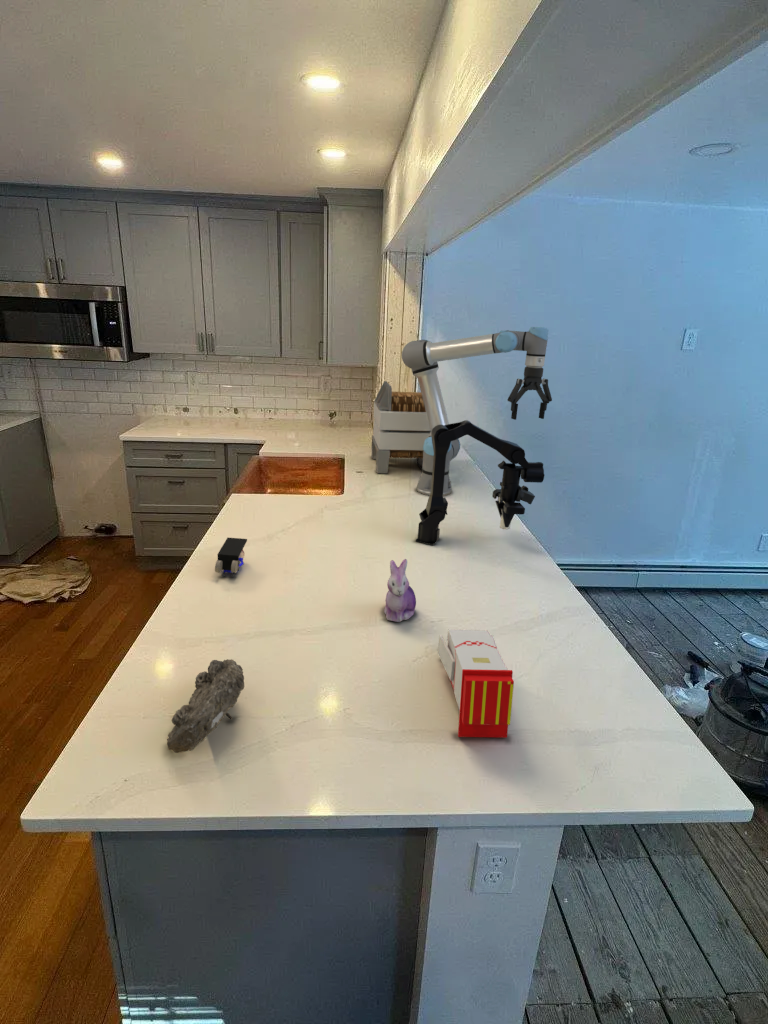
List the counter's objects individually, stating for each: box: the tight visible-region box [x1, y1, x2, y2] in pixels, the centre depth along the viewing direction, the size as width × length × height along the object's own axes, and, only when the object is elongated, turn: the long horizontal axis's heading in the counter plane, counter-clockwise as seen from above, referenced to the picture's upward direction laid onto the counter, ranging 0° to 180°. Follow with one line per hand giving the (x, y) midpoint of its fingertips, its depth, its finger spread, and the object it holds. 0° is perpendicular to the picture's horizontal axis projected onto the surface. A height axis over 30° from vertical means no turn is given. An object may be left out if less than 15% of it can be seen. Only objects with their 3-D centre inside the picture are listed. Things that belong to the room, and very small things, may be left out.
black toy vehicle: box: [214, 537, 248, 578], centre depth 166 cm, size 7×8×15 cm
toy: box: [437, 628, 515, 738], centre depth 117 cm, size 12×13×30 cm
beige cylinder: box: [499, 515, 512, 530], centre depth 195 cm, size 4×4×4 cm
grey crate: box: [370, 380, 431, 474], centre depth 281 cm, size 34×33×41 cm
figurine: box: [384, 558, 417, 623], centre depth 145 cm, size 9×10×15 cm
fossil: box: [166, 658, 245, 754], centre depth 106 cm, size 22×10×15 cm
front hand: (505, 524), depth 195 cm, fingers closed on beige cylinder, 3 cm apart
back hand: (527, 418), depth 238 cm, fingers open, 13 cm apart
